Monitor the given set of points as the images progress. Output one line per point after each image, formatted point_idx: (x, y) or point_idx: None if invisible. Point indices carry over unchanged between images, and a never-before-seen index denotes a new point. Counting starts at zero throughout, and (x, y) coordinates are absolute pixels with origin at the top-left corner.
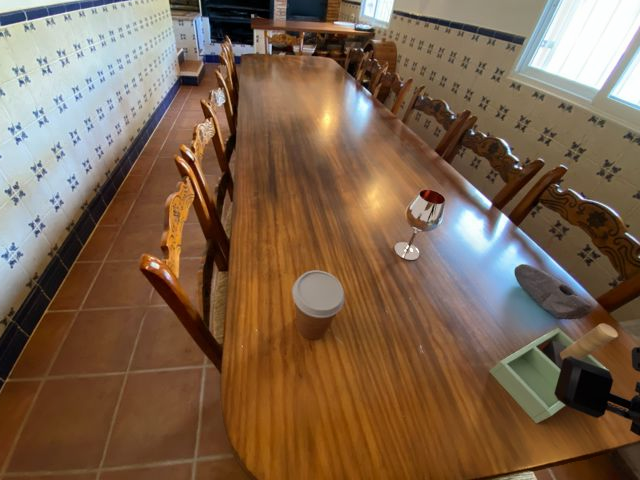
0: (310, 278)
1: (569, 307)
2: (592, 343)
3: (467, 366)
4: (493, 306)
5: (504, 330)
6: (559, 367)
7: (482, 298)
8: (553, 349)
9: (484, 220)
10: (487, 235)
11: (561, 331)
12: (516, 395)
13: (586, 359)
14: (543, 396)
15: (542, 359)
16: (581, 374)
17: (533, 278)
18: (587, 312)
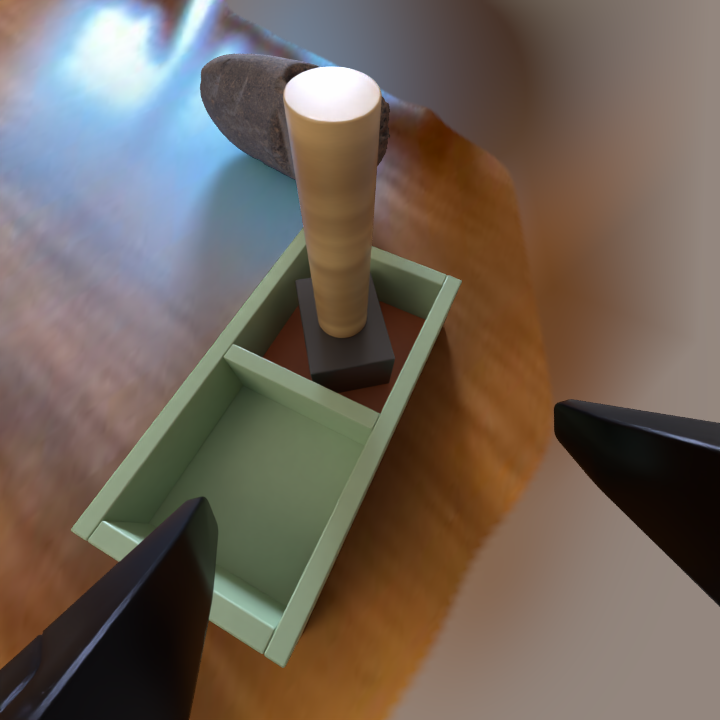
0: None
1: None
2: (326, 226)
3: (44, 576)
4: (164, 257)
5: (196, 321)
6: (318, 374)
7: (129, 249)
8: (300, 311)
9: (153, 17)
10: (158, 52)
11: None
12: None
13: (401, 280)
14: (311, 500)
15: (263, 380)
16: None
17: (227, 95)
18: (381, 123)
